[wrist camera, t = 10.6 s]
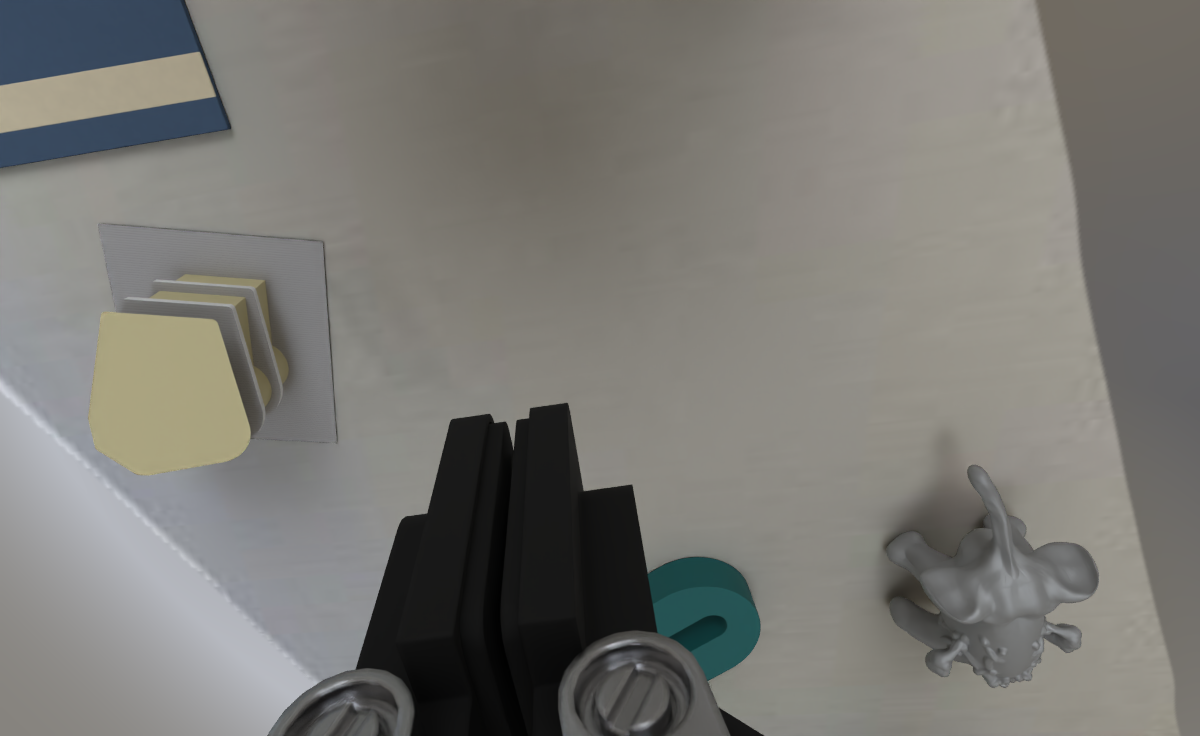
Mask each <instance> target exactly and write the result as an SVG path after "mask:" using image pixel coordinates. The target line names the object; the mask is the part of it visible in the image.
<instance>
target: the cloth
mask: <svg viewBox="0 0 1200 736" xmlns="http://www.w3.org/2000/svg"><path fill="white" fill-rule="evenodd" d="M228 129H231V127H230V124H229V121H228V119H227V116H226V113H225V110H224V108H223V105H222V102H221V100H220V97H219V94H218V91H217V89H216V86H215V83H214V81H213V78H212V75H211V72H210V70H209V67H208V64H207V62H206V59H205V56H204V53H203V51H202V48H201V45H200V43H199V40H198V37H197V34H196V32H195V29H194V26H193V24H192V21H191V18H190V15H189V13H188V10H187V7H186V5H185V2H184V0H0V168H3V167H9V166H15V165H21V164H27V163H33V162H39V161H45V160H51V159H57V158H62V157H68V156H74V155H80V154H86V153H92V152H98V151H104V150H110V149H116V148H122V147H127V146H133V145H139V144H145V143H151V142H157V141H163V140H169V139H175V138H181V137H187V136H192V135H198V134H204V133H210V132H216V131H222V130H228Z"/></svg>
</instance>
